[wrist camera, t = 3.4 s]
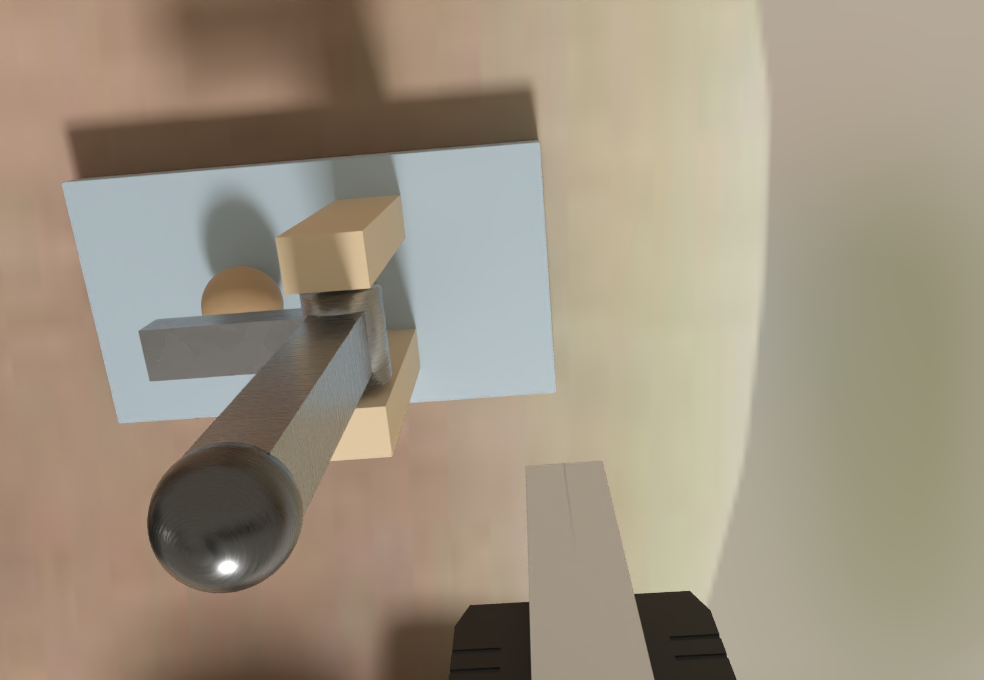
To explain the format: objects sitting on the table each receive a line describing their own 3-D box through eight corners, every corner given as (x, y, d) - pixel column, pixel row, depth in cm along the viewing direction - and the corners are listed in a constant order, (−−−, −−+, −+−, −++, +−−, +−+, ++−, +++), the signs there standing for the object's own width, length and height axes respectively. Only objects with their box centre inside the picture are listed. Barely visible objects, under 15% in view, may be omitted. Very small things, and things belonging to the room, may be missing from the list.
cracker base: (136, 408, 42) (-2, 526, 31) (83, 178, 39) (-96, 214, 27) (553, 378, 41) (571, 488, 30) (538, 139, 38) (551, 160, 26)
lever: (177, 380, 33) (-136, 654, 17) (159, 294, 32) (-194, 500, 16) (399, 364, 32) (293, 629, 16) (388, 276, 31) (264, 469, 15)
